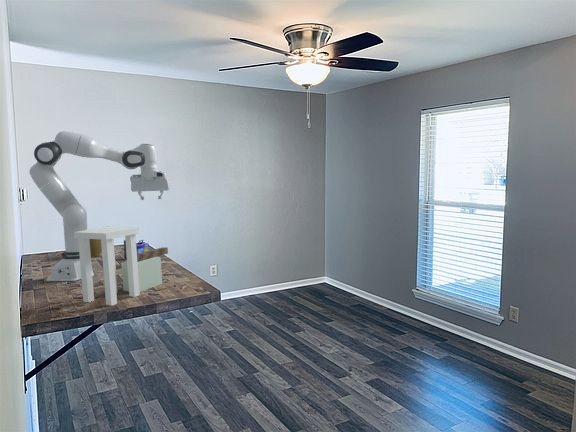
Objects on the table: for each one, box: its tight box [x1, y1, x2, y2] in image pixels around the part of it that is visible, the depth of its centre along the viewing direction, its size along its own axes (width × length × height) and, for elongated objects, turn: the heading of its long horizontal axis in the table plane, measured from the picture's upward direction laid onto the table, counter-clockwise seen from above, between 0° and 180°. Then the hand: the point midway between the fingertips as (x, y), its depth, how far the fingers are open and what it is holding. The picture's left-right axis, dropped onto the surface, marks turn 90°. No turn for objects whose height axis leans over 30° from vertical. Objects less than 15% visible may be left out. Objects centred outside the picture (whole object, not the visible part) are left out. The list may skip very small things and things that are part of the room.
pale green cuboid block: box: [120, 256, 163, 293], centre depth 206 cm, size 16×9×13 cm, turn 156°
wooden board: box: [137, 246, 169, 262], centre depth 210 cm, size 24×3×3 cm, turn 156°
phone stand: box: [123, 240, 127, 261], centre depth 278 cm, size 9×6×12 cm, turn 29°
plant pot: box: [89, 239, 102, 258], centre depth 290 cm, size 15×15×16 cm
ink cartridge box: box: [136, 239, 150, 254], centre depth 259 cm, size 10×6×14 cm, turn 158°
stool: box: [74, 226, 141, 307], centre depth 188 cm, size 18×18×30 cm
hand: (151, 199), depth 240 cm, fingers open, 8 cm apart
